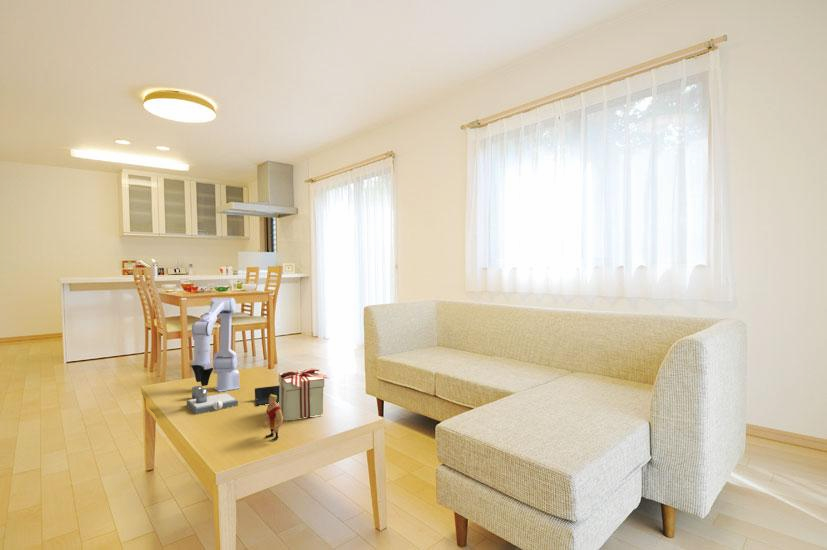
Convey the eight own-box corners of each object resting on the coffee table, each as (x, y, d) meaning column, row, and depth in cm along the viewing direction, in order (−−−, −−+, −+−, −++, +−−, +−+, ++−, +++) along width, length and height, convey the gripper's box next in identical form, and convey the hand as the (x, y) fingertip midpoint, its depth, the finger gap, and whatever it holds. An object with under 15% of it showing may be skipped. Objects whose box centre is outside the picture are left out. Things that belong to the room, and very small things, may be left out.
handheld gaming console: (258, 404, 167) (257, 381, 173) (253, 411, 172) (252, 388, 177) (285, 403, 174) (284, 381, 180) (280, 409, 178) (278, 388, 184)
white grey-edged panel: (226, 397, 180) (226, 389, 180) (238, 406, 169) (238, 397, 169) (186, 405, 169) (186, 396, 169) (196, 414, 158) (196, 405, 158)
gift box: (288, 425, 148) (288, 378, 148) (275, 411, 163) (275, 368, 163) (332, 416, 157) (332, 372, 157) (316, 403, 173) (316, 363, 173)
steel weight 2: (205, 399, 170) (205, 387, 170) (208, 401, 166) (208, 389, 166) (194, 401, 167) (195, 389, 167) (197, 403, 164) (197, 391, 164)
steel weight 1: (200, 396, 182) (200, 385, 182) (203, 398, 179) (203, 387, 179) (190, 398, 179) (191, 387, 179) (193, 400, 176) (193, 388, 176)
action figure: (260, 435, 138) (260, 392, 138) (270, 432, 141) (270, 389, 141) (274, 443, 132) (274, 397, 132) (284, 440, 135) (284, 395, 135)
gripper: (186, 349, 169) (186, 381, 169) (196, 354, 159) (196, 389, 159) (205, 347, 174) (204, 378, 174) (215, 352, 163) (215, 385, 163)
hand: (202, 383), depth 167 cm, fingers open, 7 cm apart
